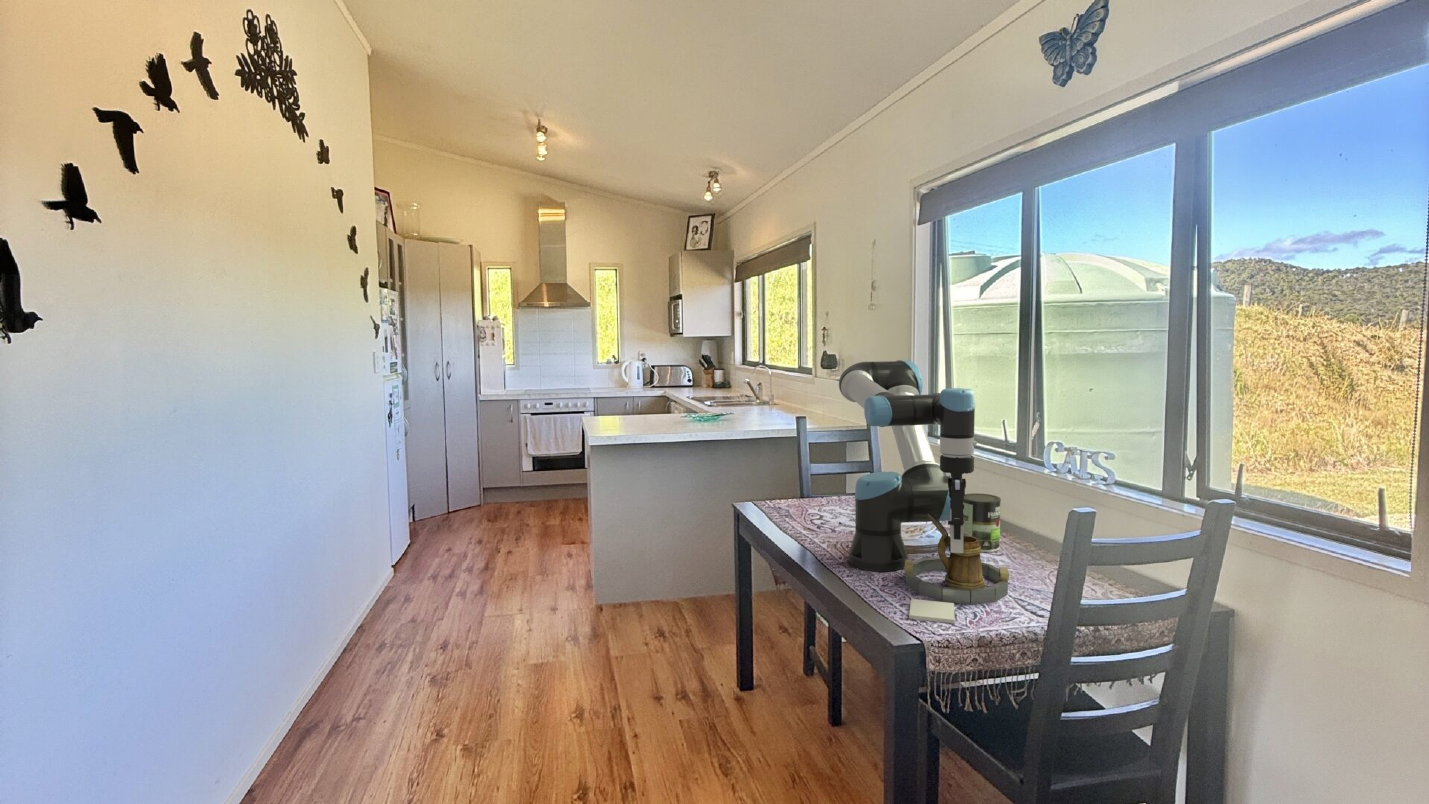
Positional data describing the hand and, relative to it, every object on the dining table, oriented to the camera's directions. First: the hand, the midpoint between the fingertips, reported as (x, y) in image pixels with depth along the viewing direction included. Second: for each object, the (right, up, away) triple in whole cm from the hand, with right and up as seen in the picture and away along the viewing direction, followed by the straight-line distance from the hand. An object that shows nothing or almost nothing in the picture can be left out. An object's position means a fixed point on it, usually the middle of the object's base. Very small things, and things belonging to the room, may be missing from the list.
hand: (956, 544), depth 159 cm
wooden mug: (0, -10, +1) cm, 10 cm away
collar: (0, -10, +1) cm, 10 cm away
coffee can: (+17, -7, +29) cm, 35 cm away
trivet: (-10, -12, -14) cm, 21 cm away
